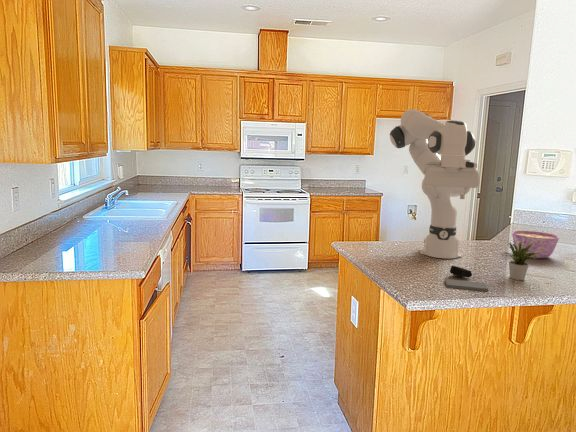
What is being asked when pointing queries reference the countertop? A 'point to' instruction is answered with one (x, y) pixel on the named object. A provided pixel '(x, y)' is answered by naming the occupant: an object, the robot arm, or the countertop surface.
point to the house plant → (519, 261)
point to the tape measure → (460, 271)
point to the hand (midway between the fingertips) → (449, 198)
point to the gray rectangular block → (466, 285)
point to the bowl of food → (536, 242)
